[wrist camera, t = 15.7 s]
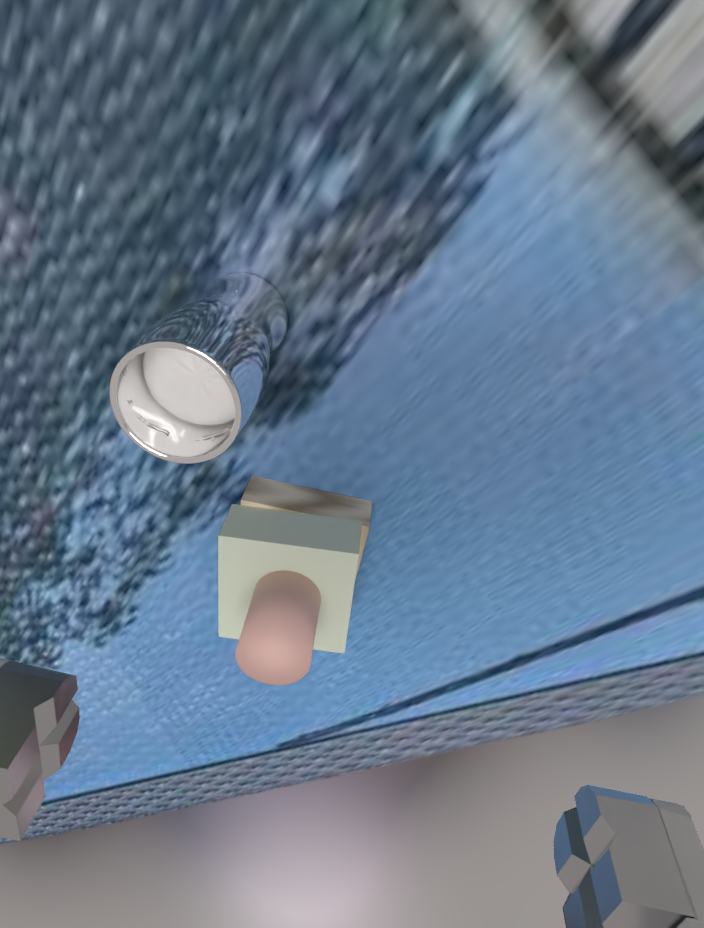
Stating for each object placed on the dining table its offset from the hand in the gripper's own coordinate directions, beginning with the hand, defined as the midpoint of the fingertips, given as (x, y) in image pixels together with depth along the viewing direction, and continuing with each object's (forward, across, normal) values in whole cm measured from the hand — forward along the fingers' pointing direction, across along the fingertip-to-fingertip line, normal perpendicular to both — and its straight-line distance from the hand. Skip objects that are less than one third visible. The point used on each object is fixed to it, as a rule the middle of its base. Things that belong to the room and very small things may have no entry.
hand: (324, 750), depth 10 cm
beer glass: (+35, +10, +6) cm, 37 cm away
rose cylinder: (+28, +3, +24) cm, 36 cm away
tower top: (+32, +3, +24) cm, 40 cm away
